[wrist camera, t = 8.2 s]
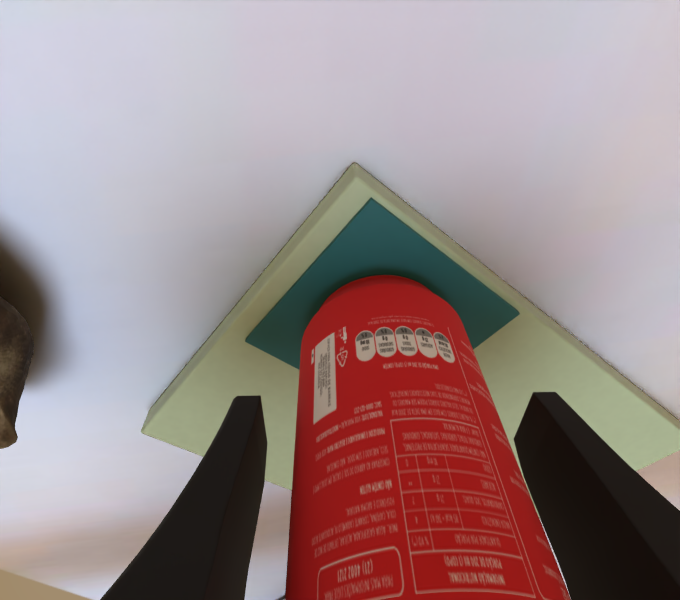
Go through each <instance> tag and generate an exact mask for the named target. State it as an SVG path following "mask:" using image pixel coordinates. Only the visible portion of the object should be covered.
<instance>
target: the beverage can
mask: <svg viewBox="0 0 680 600" xmlns="http://www.w3.org/2000/svg"><path fill="white" fill-rule="evenodd" d="M285 600H571V599H570V596H569V593H568V591H567V588H566V586H565V583H564V581H563V578H562V576H561V573H560V571H559V568H558V565H557V563H556V560H555V558H554V555H553V553H552V550H551V548H550V545H549V542H548V540H547V537H546V535H545V532H544V530H543V527H542V525H541V522H540V519H539V517H538V514H537V512H536V509H535V507H534V504H533V502H532V499H531V497H530V494H529V491H528V489H527V486H526V484H525V481H524V479H523V476H522V474H521V471H520V468H519V466H518V463H517V461H516V458H515V456H514V453H513V451H512V448H511V445H510V443H509V440H508V438H507V435H506V433H505V430H504V428H503V425H502V423H501V420H500V417H499V415H498V412H497V410H496V407H495V405H494V402H493V400H492V397H491V394H490V392H489V389H488V387H487V384H486V382H485V379H484V377H483V374H482V371H481V369H480V366H479V364H478V361H477V359H476V356H475V354H474V351H473V348H472V346H471V343H470V341H469V338H468V336H467V333H466V331H465V328H464V326H463V323H462V321H461V319H460V317H459V315H458V314H457V312H456V311H455V310H454V309H453V308H452V306H450V305H449V304H448V303H447V302H446V301H445V300H443V299H442V298H441V297H439V296H437V295H436V294H434V292H433V291H432V290H430V289H429V288H428V287H427V286H425V285H424V284H422V283H421V282H419V281H417V280H414V279H412V278H409V277H406V276H401V275H396V274H373V275H367V276H363V277H359V278H357V279H354V280H351V281H349V282H347V283H345V284H343V285H342V286H340V287H338V288H337V289H336V290H334V291H333V292H332V293H331V294H330V295H329V296H328V297H327V298H326V299H325V300H324V302H323V303H322V304H321V306H320V308H319V310H318V312H317V313H316V314H315V315H314V317H313V318H312V319H311V321H310V322H309V324H308V326H307V328H306V330H305V332H304V335H303V338H302V343H301V354H300V370H299V386H298V402H297V418H296V434H295V449H294V465H293V481H292V497H291V513H290V529H289V545H288V561H287V577H286V593H285Z"/></svg>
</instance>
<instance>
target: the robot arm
mask: <svg viewBox="0 0 680 600" xmlns="http://www.w3.org/2000/svg"><path fill="white" fill-rule="evenodd" d="M514 443H515V447H516V451H517V455H518V459H519V462H520V466H521V469H522V473H523V476H524V479H525V481H526V484H527V487H528V489H529V492H530V494H531V497H532V499H533V501H534V504H535V506H536V509H537V511H538V514H539V516H540V519H541V521H542V523H543V526H544V528H545V531H546V533H547V536H548V538H549V541H550V543H551V545H552V548H553V550H554V553H555V555H556V558H557V560H558V562H559V565H560V568H561V571H562V573H563V576H564V579H565V581H566V584H567V588H568V591H569V594H570V597H571V600H680V511H679V510H678V509H677V508H676V507H675V506H673V505H672V504H671V503H670V502H669V501H668V500H667V499H666V498H664V497H663V496H662V495H661V494H660V493H659V492H658V491H657V490H655V489H654V488H653V487H652V486H651V485H650V484H649V483H648V482H646V481H645V480H644V479H643V478H642V477H641V476H640V475H639V474H638V473H637V472H636V471H635V470H634V469H633V468H631V467H630V466H629V465H628V464H627V463H626V462H625V461H624V460H623V459H622V458H621V457H620V456H619V455H618V454H617V453H616V452H615V451H614V450H613V449H612V448H611V447H610V446H609V445H608V444H607V443H606V442H605V441H604V440H603V439H602V438H601V437H600V436H599V435H598V434H597V433H596V432H595V431H594V430H593V429H592V428H591V427H590V426H589V425H588V424H587V423H586V422H585V421H584V420H583V419H582V418H581V417H580V416H579V415H578V414H577V413H576V412H575V411H574V410H573V409H572V408H571V407H570V406H569V405H568V404H567V403H566V402H565V401H564V400H563V399H562V398H561V397H560V396H559V395H558V394H557V393H556V392H533V393H532V396H531V398H530V401H529V403H528V405H527V408H526V410H525V413H524V415H523V418H522V420H521V422H520V425H519V427H518V430H517V432H516V434H515V437H514ZM266 456H267V436H266V429H265V422H264V415H263V408H262V401H261V395H258V396H236V397H235V398H234V399H233V401H232V403H231V406H230V408H229V410H228V412H227V414H226V416H225V418H224V420H223V422H222V424H221V426H220V428H219V430H218V432H217V434H216V436H215V438H214V439H213V441H212V443H211V445H210V447H209V448H208V450H207V452H206V454H205V455H204V457H203V459H202V460H201V462H200V464H199V466H198V467H197V469H196V471H195V472H194V474H193V476H192V477H191V479H190V480H189V482H188V483H187V485H186V486H185V488H184V490H183V491H182V493H181V494H180V496H179V497H178V499H177V500H176V502H175V503H174V505H173V506H172V508H171V509H170V511H169V512H168V514H167V515H166V516H165V518H164V519H163V521H162V522H161V524H160V525H159V526H158V528H157V529H156V530H155V532H154V533H153V534H152V536H151V537H150V538H149V540H148V541H147V542H146V544H145V545H144V546H143V548H142V549H141V550H140V552H139V553H138V554H137V556H136V557H135V558H134V559H133V560H132V562H131V563H130V564H129V565H128V567H127V568H126V569H125V570H124V572H123V573H122V574H121V575H120V577H119V578H118V579H117V580H116V582H115V583H114V584H113V585H112V586H111V588H110V589H109V590H108V591H107V592H106V594H105V595H104V596H103V597H102V598H101V599H100V600H244V597H245V588H246V582H247V575H248V568H249V563H250V558H251V552H252V547H253V541H254V536H255V531H256V525H257V520H258V514H259V509H260V503H261V498H262V492H263V487H264V480H265V469H266ZM283 600H285V599H283Z"/></svg>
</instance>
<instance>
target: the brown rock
mask: <svg viewBox="0 0 680 600" xmlns="http://www.w3.org/2000/svg"><path fill="white" fill-rule="evenodd" d="M33 347H34V344H33V337H32V335H31V332H30V329H29V327H28V324H27V322H26V320H25V318H24V317H23V316H22V315H20V314H19V313H18V312H17V310H16V308H15V307H13V306H12V305H11V304H9V303H8V302H7V301H5V300H4V299H3V298H2V297H1V296H0V449H2V448H6V447H9V446H10V445H12V444H14V443H15V442H16V441H17V434H16V431H15V421H16V417H17V412H18V405H19V400H20V398H21V395H22V392H23V389H24V385H25V380H26V377H27V374H28V369H29V365H30V363H31V358H32V356H33Z"/></svg>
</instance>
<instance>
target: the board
mask: <svg viewBox="0 0 680 600" xmlns="http://www.w3.org/2000/svg"><path fill="white" fill-rule="evenodd" d="M373 274H396V275H401V276H406V277H409V278H412V279H414V280H417V281H419V282H421V283H422V284H424V285H425V286H427V287H428V288H429V289H430V290H432V291H433V292H434V294H436V295H437V296H439V297H441V298H442V299H443V300H445V301H446V302H447V303H448V304H449V305H450V306H452V308H453V309H454V310H455V311H456V312H457V314H458V315H459V317H460V319H461V321H462V323H463V326H464V328H465V331H466V333H467V336H468V338H469V341H470V343H471V346H472V348H473V351H474V354H475V356H476V359H477V361H478V364H479V366H480V369H481V371H482V374H483V377H484V379H485V382H486V384H487V387H488V389H489V392H490V394H491V397H492V400H493V402H494V405H495V407H496V410H497V412H498V415H499V417H500V420H501V423H502V425H503V428H504V430H505V433H506V435H507V438H508V440H509V443H510V445H511V448H512V451H513V453H514V456H515V458H516V461H517V463H518V466H519V468H520V471H521V474H522V476H523V473H522V469H521V466H520V462H519V459H518V455H517V451H516V447H515V443H514V437H515V434H516V432H517V430H518V427H519V425H520V422H521V420H522V418H523V415H524V413H525V410H526V408H527V405H528V403H529V401H530V398H531V396H532V393H533V392H556V393H557V394H558V395H559V396H560V397H561V398H562V399H563V400H564V401H565V402H566V403H567V404H568V405H569V406H570V407H571V408H572V409H573V410H574V411H575V412H576V413H577V414H578V415H579V416H580V417H581V418H582V419H583V420H584V421H585V422H586V423H587V424H588V425H589V426H590V427H591V428H592V429H593V430H594V431H595V432H596V433H597V434H598V435H599V436H600V437H601V438H602V439H603V440H604V441H605V442H606V443H607V444H608V445H609V446H610V447H611V448H612V449H613V450H614V451H615V452H616V453H617V454H618V455H619V456H620V457H621V458H622V459H623V460H624V461H625V462H626V463H627V464H628V465H629V466H630V467H631V468H633V469H634V470H635V471H638V470H640V469H642V468H644V467H646V466H648V465H650V464H652V463H654V462H656V461H658V460H660V459H662V458H664V457H666V456H669V455H671V454H673V453H675V452H677V451H679V450H680V421H679V420H677V419H676V418H675V417H674V416H672V415H671V414H670V413H669V412H667V411H666V410H665V409H664V408H662V407H661V406H660V405H659V404H657V403H656V402H655V401H654V400H652V399H651V398H650V397H649V396H647V395H646V394H645V393H644V392H642V391H641V390H640V389H639V388H637V387H636V386H635V385H633V384H632V383H631V382H630V381H628V380H627V379H626V378H625V377H623V376H622V375H621V374H620V373H618V372H617V371H616V370H615V369H613V368H612V367H611V366H610V365H608V364H607V363H606V362H605V361H603V360H602V359H601V358H600V357H598V356H597V355H596V354H595V353H593V352H592V351H591V350H590V349H588V348H587V347H586V346H585V345H583V344H582V343H581V342H580V341H578V340H577V339H576V338H575V337H573V336H572V335H571V334H570V333H568V332H567V331H566V330H565V329H563V328H562V327H561V326H560V325H558V324H557V323H556V322H554V321H553V320H552V319H551V318H549V317H548V316H547V315H546V314H544V313H543V312H542V311H541V310H539V309H538V308H537V307H536V306H534V305H533V304H532V303H531V302H529V301H528V300H527V299H526V298H524V297H523V296H522V295H521V294H519V293H518V292H517V291H516V290H514V289H513V288H512V287H511V286H509V285H508V284H507V283H506V282H504V281H503V280H502V279H501V278H499V277H498V276H497V275H496V274H494V273H493V272H492V271H491V270H489V269H488V268H487V267H486V266H484V265H483V264H482V263H481V262H479V261H478V260H477V259H475V258H474V257H473V256H472V255H470V254H469V253H468V252H467V251H465V250H464V249H463V248H462V247H460V246H459V245H458V244H457V243H455V242H454V241H453V240H452V239H450V238H449V237H448V236H447V235H445V234H444V233H443V232H442V231H440V230H439V229H438V228H437V227H435V226H434V225H433V224H432V223H430V222H429V221H428V220H427V219H425V218H424V217H423V216H422V215H420V214H419V213H418V212H417V211H415V210H414V209H413V208H412V207H410V206H409V205H408V204H407V203H405V202H404V201H403V200H402V199H400V198H399V197H398V196H396V195H395V194H394V193H393V192H391V191H390V190H389V189H388V188H386V187H385V186H384V185H383V184H381V183H380V182H379V181H378V180H376V179H375V178H374V177H373V176H371V175H370V174H369V173H368V172H366V171H365V170H364V169H363V168H361V167H360V166H359V165H358V164H356V163H353V164H352V165H351V166H350V167H349V169H348V170H347V171H346V172H345V173H344V175H343V176H342V177H341V178H340V180H339V181H338V182H337V183H336V184H335V186H334V187H333V188H332V189H331V190H330V192H329V193H328V194H327V195H326V197H325V198H324V199H323V200H322V201H321V203H320V204H319V205H318V206H317V207H316V209H315V210H314V211H313V212H312V213H311V215H310V216H309V217H308V218H307V220H306V221H305V222H304V223H303V224H302V226H301V227H300V228H299V229H298V230H297V232H296V233H295V234H294V235H293V237H292V238H291V239H290V240H289V241H288V243H287V244H286V245H285V246H284V247H283V249H282V250H281V251H280V252H279V254H278V255H277V256H276V257H275V258H274V260H273V261H272V262H271V263H270V264H269V266H268V267H267V268H266V269H265V271H264V272H263V273H262V274H261V275H260V277H259V278H258V279H257V280H256V281H255V283H254V284H253V285H252V286H251V288H250V289H249V290H248V291H247V292H246V294H245V295H244V296H243V297H242V298H241V300H240V301H239V302H238V303H237V305H236V306H235V307H234V308H233V309H232V311H231V312H230V313H229V314H228V315H227V317H226V318H225V319H224V320H223V322H222V323H221V324H220V325H219V326H218V328H217V329H216V330H215V331H214V332H213V334H212V335H211V336H210V337H209V339H208V340H207V341H206V342H205V343H204V345H203V346H202V347H201V348H200V349H199V351H198V352H197V353H196V354H195V356H194V357H193V358H192V359H191V360H190V362H189V363H188V364H187V365H186V366H185V368H184V369H183V370H182V371H181V373H180V374H179V375H178V376H177V377H176V379H175V380H174V381H173V382H172V383H171V385H170V386H169V387H168V388H167V389H166V391H165V392H164V393H163V394H162V396H161V397H160V398H159V399H158V400H157V402H156V403H155V404H154V405H153V406H152V408H151V409H150V410H149V412H148V415H147V417H146V420H145V422H144V425H143V427H142V430H141V433H143V434H146V435H148V436H151V437H153V438H156V439H159V440H161V441H164V442H166V443H169V444H172V445H174V446H177V447H180V448H182V449H185V450H187V451H190V452H193V453H195V454H198V455H200V456H203V457H204V455H205V454H206V452H207V450H208V448H209V447H210V445H211V443H212V441H213V439H214V438H215V436H216V434H217V432H218V430H219V428H220V426H221V424H222V422H223V420H224V418H225V416H226V414H227V412H228V410H229V408H230V406H231V403H232V401H233V399H234V398H235V397H236V396H258V395H261V401H262V408H263V415H264V422H265V429H266V436H267V456H266V469H265V480H266V481H268V482H271V483H273V484H276V485H279V486H281V487H284V488H287V489H289V490H292V481H293V465H294V449H295V434H296V418H297V402H298V386H299V370H300V354H301V343H302V338H303V335H304V332H305V330H306V328H307V326H308V324H309V322H310V321H311V319H312V318H313V317H314V315H315V314H316V313H317V312H318V310H319V308H320V306H321V304H322V303H323V302H324V300H325V299H326V298H327V297H328V296H329V295H330V294H331V293H332V292H333V291H334V290H336V289H337V288H338V287H340V286H342V285H343V284H345V283H347V282H349V281H351V280H354V279H357V278H359V277H363V276H367V275H373ZM523 479H524V476H523ZM524 481H525V479H524ZM525 484H526V481H525ZM526 486H527V484H526ZM527 489H528V487H527ZM528 491H529V489H528ZM529 494H530V492H529ZM530 497H531V494H530ZM531 499H532V497H531ZM532 502H533V504H534V501H533V499H532ZM534 507H535V509H536V506H535V504H534ZM536 512H537V514H538V511H537V509H536ZM538 517H539V518H540V516H539V514H538Z"/></svg>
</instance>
